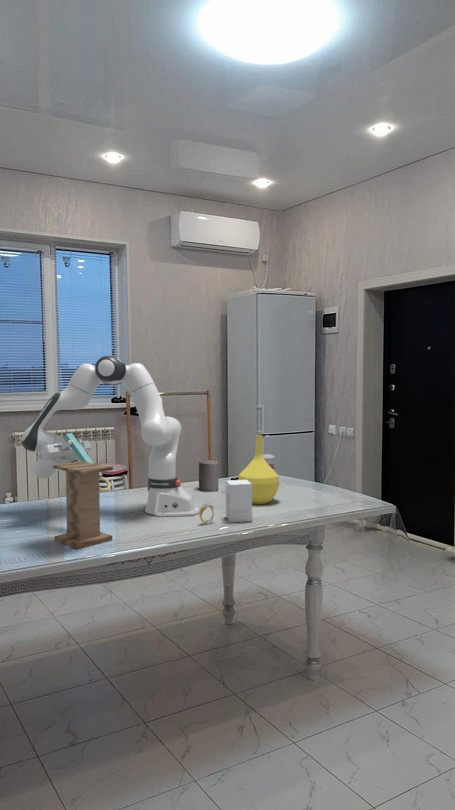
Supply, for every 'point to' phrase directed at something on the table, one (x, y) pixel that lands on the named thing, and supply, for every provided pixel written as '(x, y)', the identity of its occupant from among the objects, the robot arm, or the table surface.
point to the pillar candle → (208, 476)
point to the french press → (268, 456)
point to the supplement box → (238, 500)
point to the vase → (260, 477)
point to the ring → (204, 509)
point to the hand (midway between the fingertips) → (75, 441)
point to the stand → (82, 505)
